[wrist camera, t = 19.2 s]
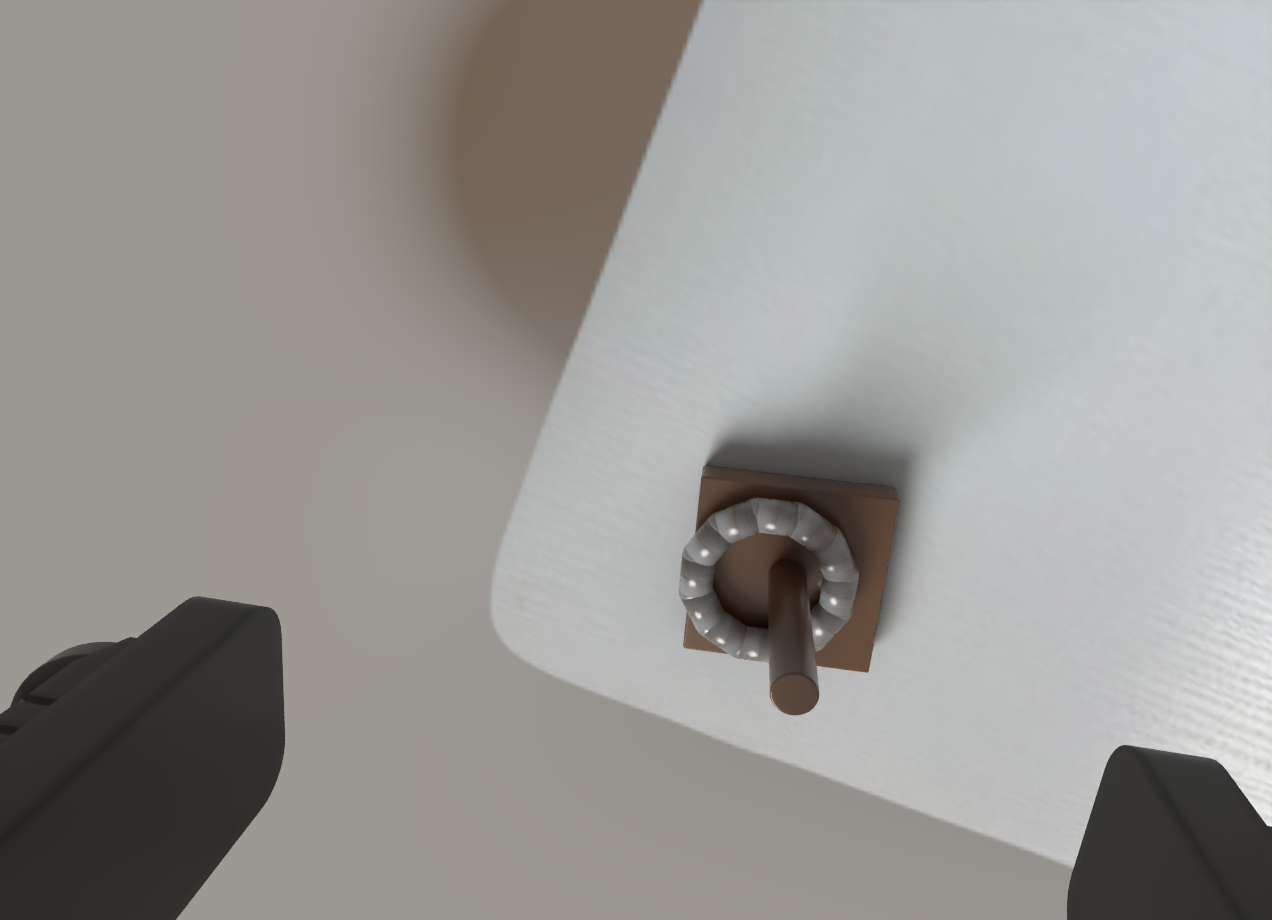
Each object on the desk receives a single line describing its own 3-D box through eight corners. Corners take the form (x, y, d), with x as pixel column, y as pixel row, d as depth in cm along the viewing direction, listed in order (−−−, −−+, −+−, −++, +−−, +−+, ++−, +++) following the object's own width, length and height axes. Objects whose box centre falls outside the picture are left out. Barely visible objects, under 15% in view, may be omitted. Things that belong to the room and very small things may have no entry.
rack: (685, 632, 42) (662, 778, 32) (703, 464, 39) (684, 568, 29) (864, 656, 41) (898, 814, 31) (895, 486, 39) (941, 601, 29)
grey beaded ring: (673, 639, 40) (671, 655, 39) (690, 484, 38) (688, 496, 37) (841, 662, 40) (844, 679, 38) (868, 505, 37) (872, 518, 36)
